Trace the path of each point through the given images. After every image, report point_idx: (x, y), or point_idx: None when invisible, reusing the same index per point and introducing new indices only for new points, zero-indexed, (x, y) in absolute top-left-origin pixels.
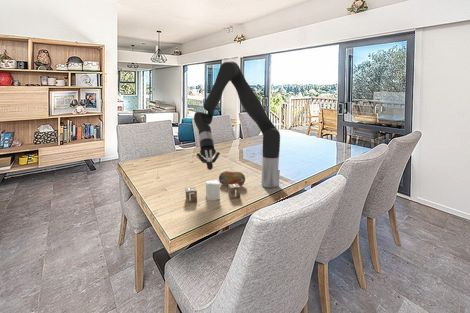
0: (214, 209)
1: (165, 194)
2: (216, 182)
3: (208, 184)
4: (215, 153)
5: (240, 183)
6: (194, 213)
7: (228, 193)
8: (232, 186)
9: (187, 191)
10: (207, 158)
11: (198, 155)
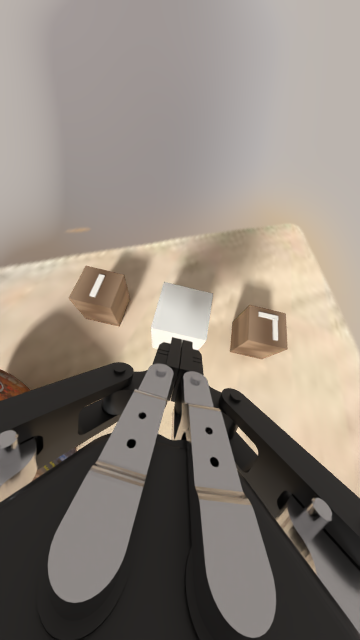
0: (201, 264)
1: (331, 439)
2: (167, 304)
3: (207, 299)
4: (1, 484)
5: (4, 381)
6: (250, 268)
7: (118, 322)
8: (110, 282)
9: (281, 313)
10: (198, 402)
11: (345, 492)
